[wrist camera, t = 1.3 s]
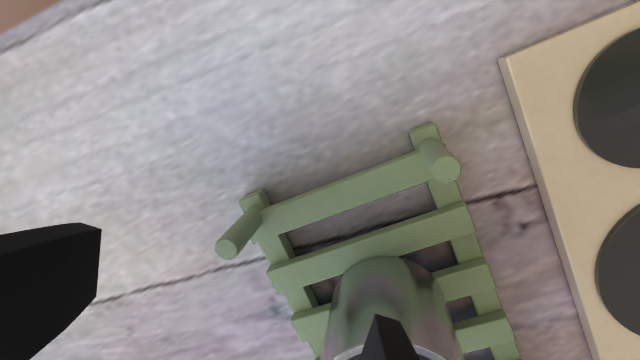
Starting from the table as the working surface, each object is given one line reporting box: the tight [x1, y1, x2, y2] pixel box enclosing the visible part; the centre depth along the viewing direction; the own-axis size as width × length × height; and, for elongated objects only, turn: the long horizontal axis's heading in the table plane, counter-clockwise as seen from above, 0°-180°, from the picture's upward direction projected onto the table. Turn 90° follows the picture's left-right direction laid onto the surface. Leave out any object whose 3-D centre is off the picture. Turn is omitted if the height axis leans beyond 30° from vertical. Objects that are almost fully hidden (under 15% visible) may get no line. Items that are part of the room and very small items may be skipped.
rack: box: [215, 122, 521, 360], centre depth 17 cm, size 15×10×5 cm
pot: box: [320, 256, 465, 360], centre depth 15 cm, size 6×6×6 cm
